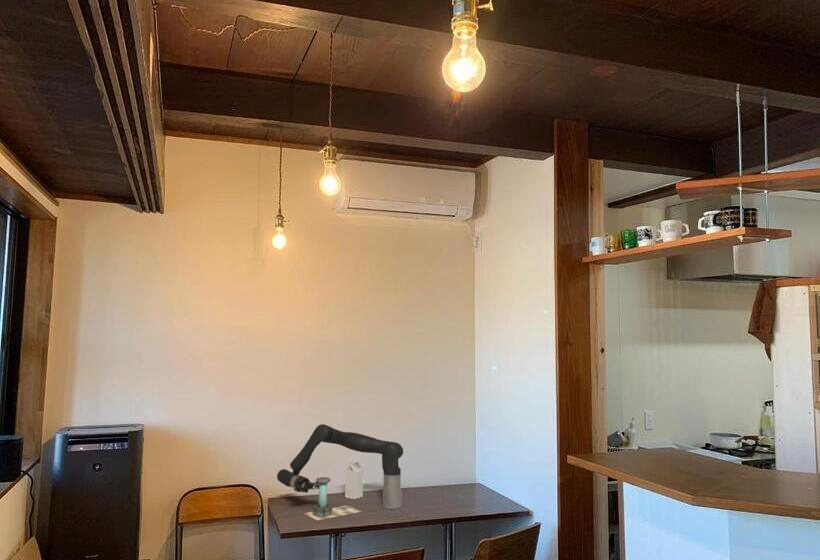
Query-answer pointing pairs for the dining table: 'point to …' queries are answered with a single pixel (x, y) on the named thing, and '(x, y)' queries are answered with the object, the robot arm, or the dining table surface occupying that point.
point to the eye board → (334, 513)
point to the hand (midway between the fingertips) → (314, 489)
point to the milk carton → (354, 481)
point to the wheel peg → (323, 491)
